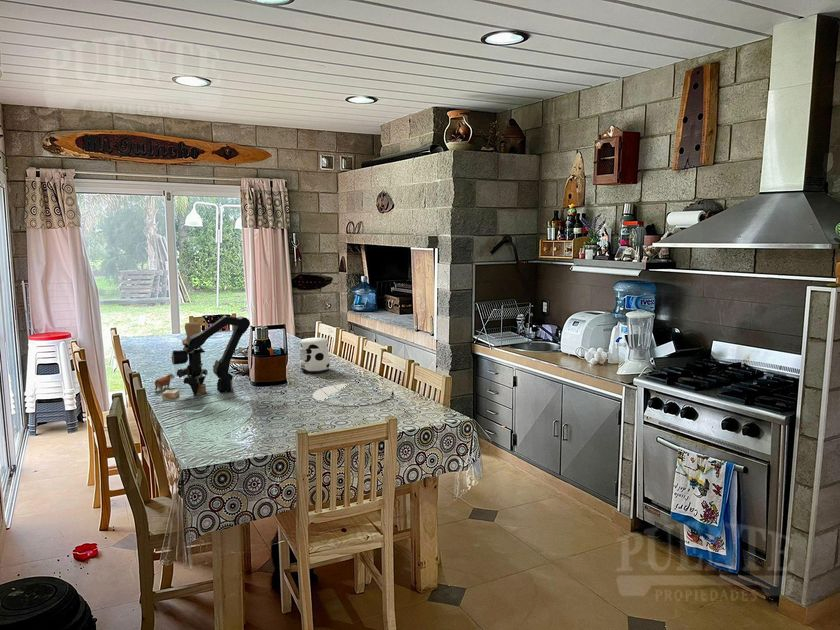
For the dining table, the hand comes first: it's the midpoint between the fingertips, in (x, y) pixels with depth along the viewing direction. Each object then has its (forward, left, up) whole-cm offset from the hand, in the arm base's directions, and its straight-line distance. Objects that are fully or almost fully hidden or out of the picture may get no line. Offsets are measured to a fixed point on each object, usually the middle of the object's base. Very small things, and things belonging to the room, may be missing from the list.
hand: (196, 393), depth 298 cm
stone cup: (+46, -139, -1) cm, 146 cm away
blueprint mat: (+8, +7, -1) cm, 11 cm away
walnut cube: (-2, 0, -1) cm, 2 cm away
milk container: (-52, -48, -1) cm, 71 cm away
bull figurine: (+19, -10, -1) cm, 22 cm away
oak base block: (+10, +7, 0) cm, 12 cm away
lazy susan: (-77, +4, -2) cm, 77 cm away
